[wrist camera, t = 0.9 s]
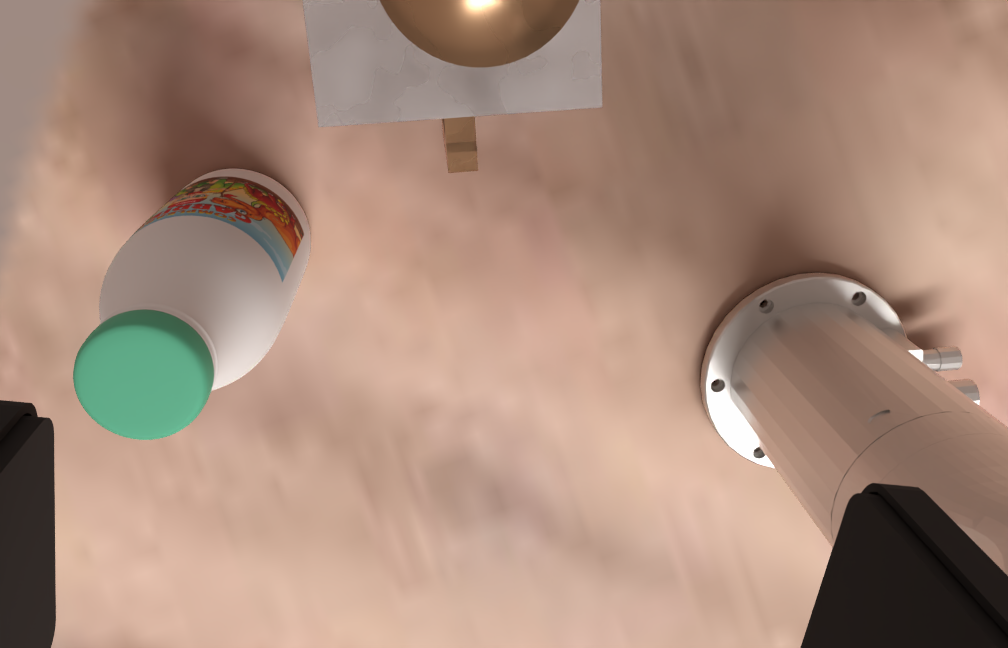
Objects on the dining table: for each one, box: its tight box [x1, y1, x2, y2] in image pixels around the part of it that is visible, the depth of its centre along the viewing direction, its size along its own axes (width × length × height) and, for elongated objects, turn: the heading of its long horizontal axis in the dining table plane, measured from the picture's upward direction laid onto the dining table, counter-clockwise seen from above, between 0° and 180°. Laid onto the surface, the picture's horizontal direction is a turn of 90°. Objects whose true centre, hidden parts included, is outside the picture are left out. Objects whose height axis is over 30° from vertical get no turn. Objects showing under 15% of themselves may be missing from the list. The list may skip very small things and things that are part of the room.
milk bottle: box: [73, 169, 311, 440], centre depth 42 cm, size 8×8×20 cm
